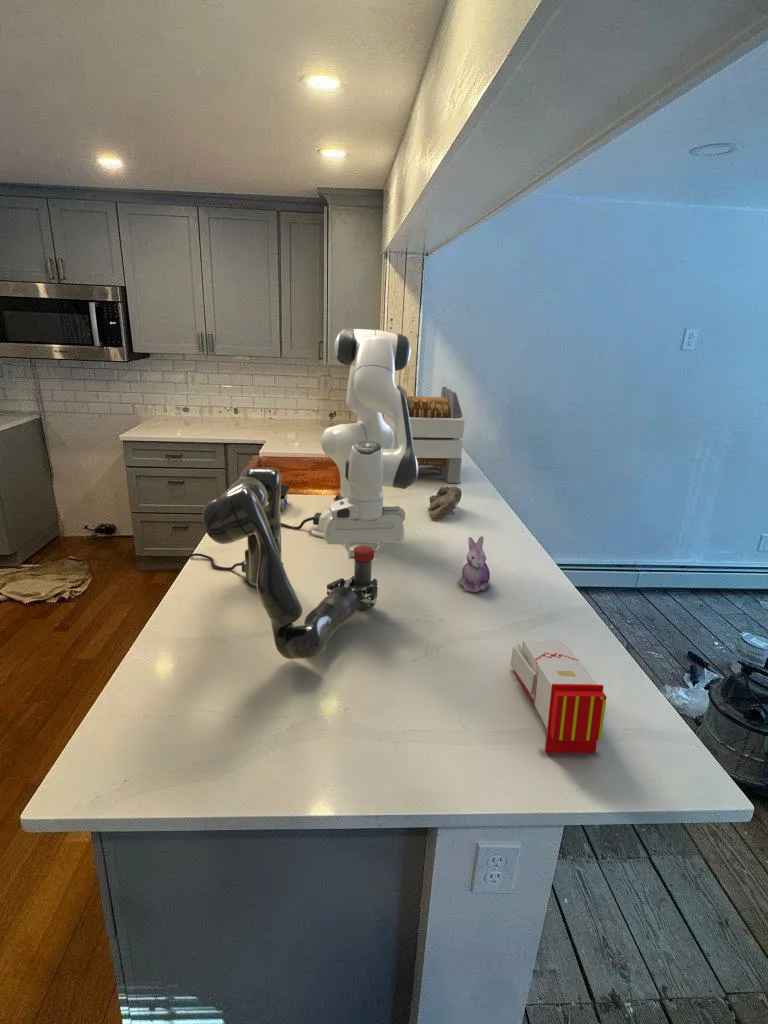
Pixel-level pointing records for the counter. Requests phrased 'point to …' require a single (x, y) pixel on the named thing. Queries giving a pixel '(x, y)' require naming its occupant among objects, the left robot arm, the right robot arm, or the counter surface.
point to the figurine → (475, 568)
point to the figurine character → (283, 496)
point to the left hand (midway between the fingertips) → (366, 579)
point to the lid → (363, 553)
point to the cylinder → (362, 577)
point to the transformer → (435, 432)
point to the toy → (561, 695)
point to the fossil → (444, 502)
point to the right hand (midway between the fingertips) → (363, 557)
